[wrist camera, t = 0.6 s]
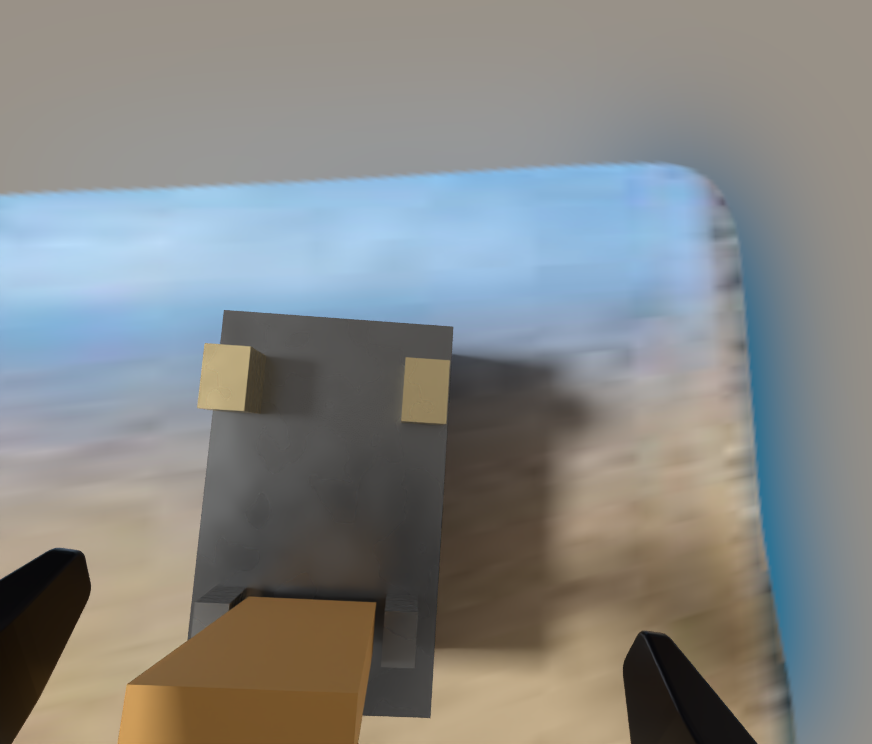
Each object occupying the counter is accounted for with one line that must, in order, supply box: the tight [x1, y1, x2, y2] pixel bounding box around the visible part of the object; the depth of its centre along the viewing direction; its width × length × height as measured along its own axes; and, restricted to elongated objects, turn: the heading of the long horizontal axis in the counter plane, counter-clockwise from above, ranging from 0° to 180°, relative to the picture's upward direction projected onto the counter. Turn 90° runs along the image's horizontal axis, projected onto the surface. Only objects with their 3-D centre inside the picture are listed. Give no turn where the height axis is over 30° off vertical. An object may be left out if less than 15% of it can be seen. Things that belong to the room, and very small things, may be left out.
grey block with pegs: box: [188, 310, 453, 718], centre depth 21 cm, size 13×8×8 cm, turn 176°
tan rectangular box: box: [118, 597, 376, 744], centre depth 14 cm, size 9×4×2 cm
